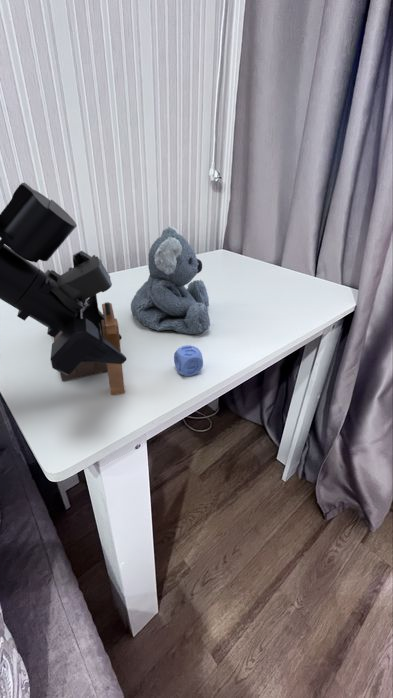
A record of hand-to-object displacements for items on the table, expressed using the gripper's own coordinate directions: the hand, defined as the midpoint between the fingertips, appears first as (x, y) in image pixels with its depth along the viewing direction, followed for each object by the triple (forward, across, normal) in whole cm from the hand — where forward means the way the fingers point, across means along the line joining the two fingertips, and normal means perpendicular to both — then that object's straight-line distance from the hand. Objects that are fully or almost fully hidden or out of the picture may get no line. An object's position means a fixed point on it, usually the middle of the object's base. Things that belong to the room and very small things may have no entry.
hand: (122, 349), depth 50 cm
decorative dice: (+14, +3, -2) cm, 14 cm away
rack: (0, +14, +10) cm, 18 cm away
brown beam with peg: (+4, 0, +6) cm, 8 cm away
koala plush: (+15, +23, -4) cm, 27 cm away
